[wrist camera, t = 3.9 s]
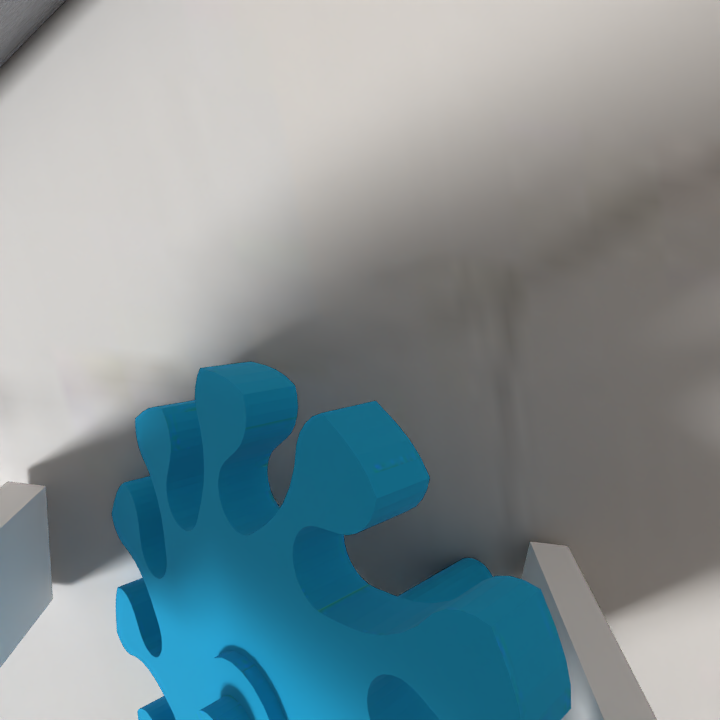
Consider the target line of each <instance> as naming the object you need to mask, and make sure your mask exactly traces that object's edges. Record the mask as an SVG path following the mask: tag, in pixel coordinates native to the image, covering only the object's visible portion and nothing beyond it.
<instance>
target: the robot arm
mask: <svg viewBox="0 0 720 720" xmlns="http://www.w3.org/2000/svg"><path fill="white" fill-rule="evenodd" d="M521 579H522V580H525V581H527V582H529V583H531V584H532V585H534V586H536V587H538V588H540V589H541V591H542V593H543V596H544V598H545V601H546V603H547V606H548V608H549V611H550V614H551V616H552V619H553V621H554V624H555V626H556V629H557V632H558V635H559V638H560V641H561V645H562V648H563V651H564V654H565V657H566V662H567V667H568V673H569V678H570V683H571V709H570V710H569V712H568V713H567V714H566V715H565V716H564V717H563V718H562V719H561V720H657V719H656V717H655V715H654V713H653V711H652V709H651V707H650V705H649V703H648V701H647V699H646V697H645V695H644V693H643V691H642V689H641V687H640V685H639V683H638V682H637V680H636V678H635V676H634V674H633V672H632V670H631V668H630V666H629V664H628V662H627V660H626V658H625V656H624V654H623V652H622V650H621V648H620V646H619V644H618V643H617V641H616V639H615V637H614V635H613V633H612V631H611V629H610V627H609V625H608V623H607V621H606V619H605V617H604V615H603V613H602V611H601V609H600V607H599V605H598V604H597V602H596V600H595V598H594V596H593V594H592V592H591V590H590V588H589V586H588V584H587V582H586V580H585V578H584V576H583V574H582V572H581V570H580V568H579V566H578V565H577V563H576V561H575V559H574V557H573V555H572V553H571V551H570V549H569V547H568V546H565V545H556V544H548V543H539V542H530V544H529V548H528V552H527V557H526V561H525V565H524V569H523V573H522V578H521ZM52 599H53V594H52V578H51V562H50V546H49V529H48V513H47V497H46V486H42V485H33V484H24V483H16V482H6V483H5V484H4V485H3V486H2V487H0V667H1V666H2V665H3V663H4V662H5V661H6V659H7V658H8V657H9V655H10V654H11V653H12V652H13V650H14V649H15V648H16V646H17V645H18V644H19V642H20V641H21V640H22V639H23V637H24V636H25V635H26V633H27V632H28V631H29V629H30V628H31V627H32V625H33V624H34V623H35V622H36V620H37V619H38V618H39V616H40V615H41V614H42V612H43V611H44V610H45V609H46V607H47V606H48V605H49V603H50V602H51V601H52Z"/></svg>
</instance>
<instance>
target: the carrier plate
mask: <svg viewBox="0 0 720 720" xmlns="http://www.w3.org/2000/svg"><path fill="white" fill-rule="evenodd" d="M65 1H66V0H0V67H1V66H2V65H3V64H4V63H5V62H6V61H7V60H8V59H9V58H10V57H11V56H12V55H13V54H14V53H15V52H16V51H17V50H18V49H19V48H20V47H21V46H22V45H23V44H24V42H25V41H26V40H27V39H28V38H29V37H30V36H31V35H32V34H33V33H34V32H35V31H36V30H37V29H38V28H39V27H40V26H41V25H42V24H43V23H44V22H45V21H46V20H47V19H48V18H49V17H50V16H51V15H52V14H53V13H54V12H55V11H56V10H57V9H58V8H59V7H60V6H61V5H62V4H63V3H64V2H65Z"/></svg>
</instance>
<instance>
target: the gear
mask: <svg viewBox="0 0 720 720" xmlns="http://www.w3.org/2000/svg"><path fill="white" fill-rule="evenodd" d="M297 412H298V399H297V392H296V387H295V385H294V384H293V383H292V382H291V381H290V380H289V379H288V378H287V377H286V376H285V375H283V374H282V373H280V372H279V371H277V370H276V369H273V368H271V367H268V366H266V365H263V364H259V363H255V362H251V361H250V362H243V363H235V364H227V365H220V366H212V367H204V368H200V370H199V373H198V375H197V380H196V386H195V400H192V401H186V402H181V403H175V404H169V405H163V406H157V407H152V408H148V409H147V410H145V411H143V412H142V413H141V414H140V415H139V416H137V417H136V418H135V428H136V437H137V442H138V446H139V449H140V452H141V455H142V458H143V460H144V462H145V464H146V466H147V469H148V471H149V474H150V476H148V477H144V478H140V479H136V480H132V481H128V482H124V483H123V484H122V485H121V486H120V487H119V489H118V491H117V493H116V497H115V500H114V504H113V509H112V513H111V514H112V518H113V523H114V526H115V529H116V532H117V534H118V537H119V539H120V540H121V542H122V544H123V545H124V546H125V547H126V549H127V550H128V551H129V553H130V554H131V556H132V557H133V559H134V561H135V563H136V565H137V567H138V568H139V570H140V572H141V575H142V577H143V578H141V579H139V580H136V581H133V582H131V583H128V584H125V585H123V586H120V587H118V588H117V594H116V622H117V633H118V636H119V638H120V641H121V643H122V645H123V646H124V648H125V649H126V651H127V652H128V653H129V654H131V655H133V656H136V657H137V658H138V659H140V660H141V661H142V662H143V663H144V664H145V666H146V667H147V668H148V669H149V671H150V672H151V673H152V675H153V676H154V678H155V680H156V681H157V683H158V685H159V687H160V688H161V690H162V692H163V694H164V696H163V697H161V698H159V699H157V700H155V701H154V702H152V703H150V704H148V705H146V706H144V707H142V708H140V709H139V710H138V720H561V719H562V718H563V717H564V716H565V715H566V714H567V713H568V712H569V710H570V709H571V683H570V678H569V673H568V667H567V662H566V657H565V654H564V651H563V648H562V645H561V641H560V638H559V635H558V632H557V629H556V626H555V624H554V621H553V619H552V616H551V614H550V611H549V608H548V606H547V603H546V601H545V598H544V596H543V593H542V591H541V589H540V588H538V587H536V586H534V585H532V584H531V583H529V582H527V581H525V580H522V579H519V578H515V577H512V576H494V577H493V576H492V575H491V573H490V571H489V570H488V569H487V568H486V566H485V565H484V564H482V563H481V562H480V561H478V560H476V559H473V558H463V559H461V560H460V561H458V562H456V563H454V564H453V565H451V566H449V567H447V568H446V569H444V570H442V571H441V572H439V573H437V574H435V575H434V576H432V577H430V578H428V579H427V580H425V581H423V582H421V583H420V584H418V585H416V586H414V587H413V588H411V589H409V590H408V591H406V592H404V593H402V594H401V595H399V596H395V595H392V594H390V593H387V592H385V591H382V590H380V589H377V588H375V587H373V586H371V585H369V584H368V583H367V582H366V581H365V580H363V579H362V578H361V576H360V575H359V574H358V573H357V571H356V570H355V568H354V567H353V565H352V563H351V561H350V559H349V556H348V554H347V551H346V546H345V542H344V535H351V534H356V533H358V532H361V531H363V530H365V529H368V528H370V527H372V526H375V525H377V524H379V523H381V522H384V521H386V520H388V519H391V518H393V517H395V516H398V515H400V514H402V513H404V512H407V511H409V510H411V509H412V508H414V507H416V506H417V505H418V504H419V502H420V501H421V500H422V499H423V497H424V495H425V493H426V491H427V488H428V484H429V480H430V477H429V475H428V472H427V470H426V468H425V466H424V463H423V461H422V459H421V457H420V455H419V454H418V452H417V451H416V449H415V447H414V446H413V444H412V443H411V441H410V440H409V438H408V437H407V436H406V434H405V433H404V432H403V431H402V429H401V428H400V427H399V426H398V424H397V423H396V422H395V421H394V420H393V419H392V418H391V416H390V415H389V414H388V413H387V412H386V411H385V410H384V409H383V408H382V407H381V406H380V405H379V404H378V403H377V401H373V402H368V403H364V404H359V405H355V406H350V407H346V408H341V409H337V410H332V411H328V412H324V413H320V414H317V415H315V416H312V417H311V418H310V419H309V420H308V421H307V422H306V423H305V424H304V426H303V428H302V429H301V431H300V433H299V437H298V440H297V444H296V453H295V463H294V470H293V474H292V478H291V483H290V487H289V489H288V492H287V494H286V497H285V499H284V502H283V504H282V506H281V507H279V506H278V504H277V503H276V501H275V499H274V497H273V495H272V492H271V490H270V486H269V482H268V461H269V457H270V455H271V453H272V451H273V450H274V449H275V448H276V447H277V446H278V445H279V444H281V443H282V442H283V441H284V440H285V439H286V438H287V437H288V436H289V435H290V434H291V433H292V430H293V428H294V426H295V423H296V419H297Z"/></svg>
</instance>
